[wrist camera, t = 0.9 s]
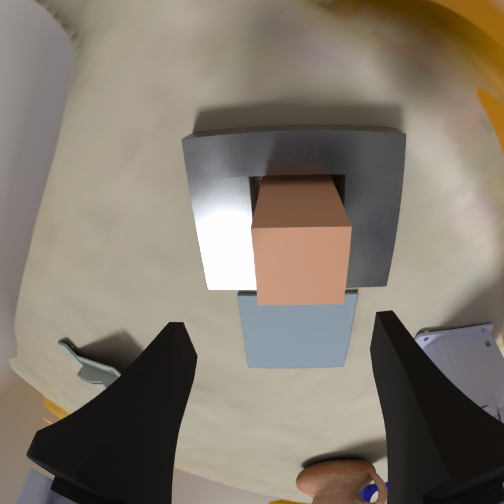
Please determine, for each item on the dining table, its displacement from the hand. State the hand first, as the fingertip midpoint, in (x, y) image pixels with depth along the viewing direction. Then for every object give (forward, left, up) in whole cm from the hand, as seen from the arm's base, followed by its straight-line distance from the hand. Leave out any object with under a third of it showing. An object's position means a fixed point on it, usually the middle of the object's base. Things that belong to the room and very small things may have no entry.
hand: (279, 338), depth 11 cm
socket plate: (-1, -1, -10) cm, 10 cm away
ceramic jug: (-10, +48, -10) cm, 50 cm away
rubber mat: (-1, +11, -10) cm, 14 cm away
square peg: (-1, -1, -10) cm, 10 cm away
